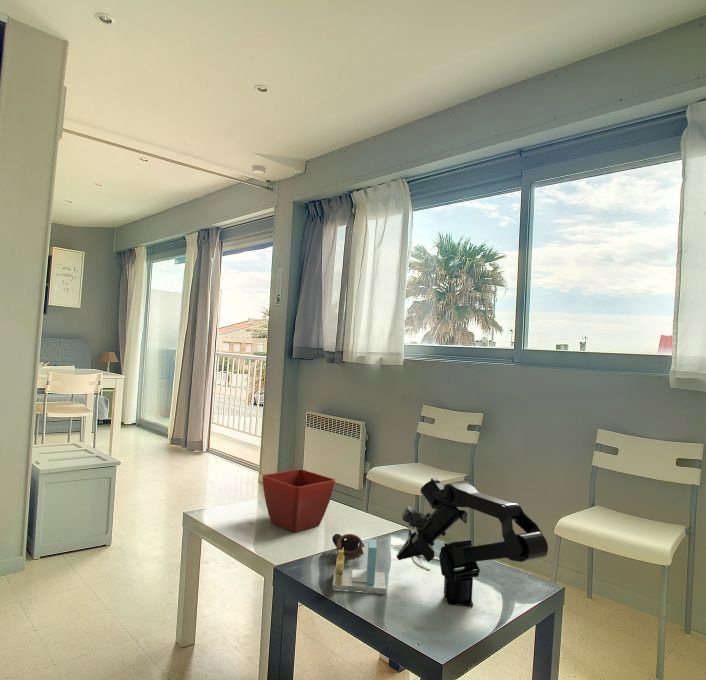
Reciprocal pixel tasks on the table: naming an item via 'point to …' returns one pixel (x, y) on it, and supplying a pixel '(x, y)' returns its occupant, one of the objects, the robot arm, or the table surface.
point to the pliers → (421, 561)
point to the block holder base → (345, 582)
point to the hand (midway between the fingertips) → (397, 558)
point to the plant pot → (297, 498)
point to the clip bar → (371, 563)
